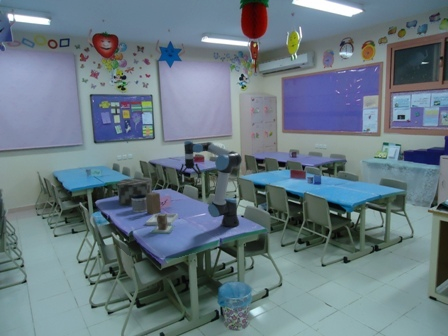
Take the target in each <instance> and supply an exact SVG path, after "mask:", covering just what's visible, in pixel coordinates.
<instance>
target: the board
mask: <svg viewBox="0 0 448 336" xmlns="http://www.w3.org/2000/svg"><path fill="white" fill-rule="evenodd" d="M175 227H176V225H168V228H167V229H166V230H159V229H158V225H155V227H154V228H153V229H152V230H151V232H150V235H151V234H153V235H159V234H160V235H164V234H166V235H167V234H171V233H172V231H173V229H174V228H175Z"/></svg>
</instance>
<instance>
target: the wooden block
mask: <svg viewBox="0 0 448 336" xmlns="http://www.w3.org/2000/svg"><path fill="white" fill-rule="evenodd" d="M146 203H147V211H146V213H147V214H149V215H154V214H162V213H161V208H162V207H161V197H160V192H155V191H152V193H147V194H146Z"/></svg>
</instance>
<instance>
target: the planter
mask: <svg viewBox="0 0 448 336" xmlns="http://www.w3.org/2000/svg"><path fill="white" fill-rule="evenodd" d="M131 199H132V206H131V208H132V212H133V213H136V214H137V213H145V212H146V213H147V203H146V195H136V196H133V197H132V198H131Z"/></svg>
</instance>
